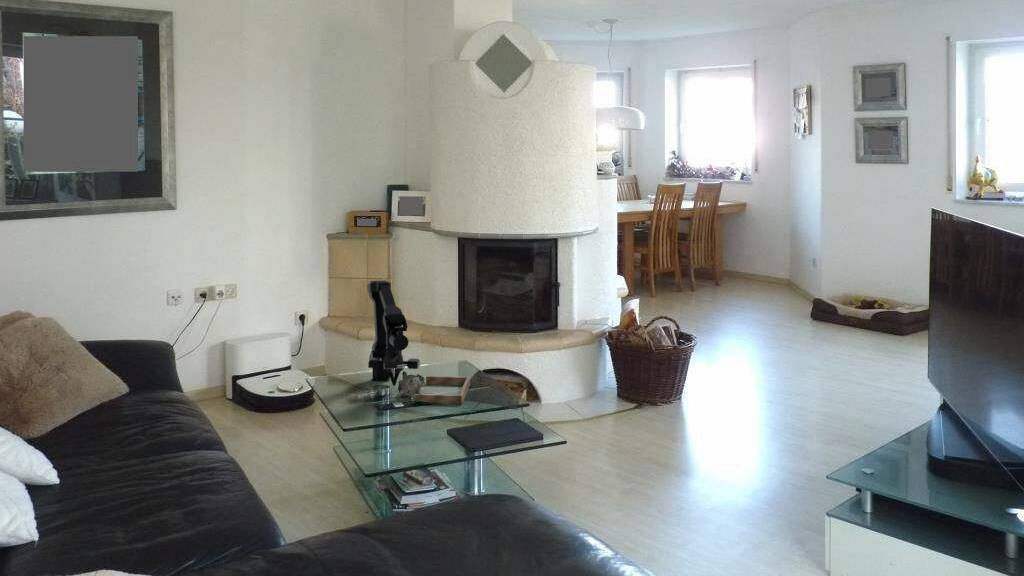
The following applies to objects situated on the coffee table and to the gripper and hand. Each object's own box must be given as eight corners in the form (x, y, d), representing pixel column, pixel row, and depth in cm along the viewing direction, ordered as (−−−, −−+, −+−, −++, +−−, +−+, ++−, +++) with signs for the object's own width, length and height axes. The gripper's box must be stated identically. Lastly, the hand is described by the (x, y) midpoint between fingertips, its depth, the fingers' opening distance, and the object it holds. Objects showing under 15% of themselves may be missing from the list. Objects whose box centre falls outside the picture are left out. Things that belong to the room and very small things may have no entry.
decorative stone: (419, 398, 340) (413, 372, 339) (396, 403, 341) (389, 377, 341) (430, 389, 355) (424, 364, 355) (408, 394, 357) (402, 368, 356)
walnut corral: (414, 402, 337) (414, 394, 336) (426, 383, 365) (426, 375, 364) (462, 404, 336) (462, 396, 335) (470, 384, 364) (470, 377, 363)
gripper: (364, 348, 341) (365, 390, 343) (415, 350, 340) (415, 391, 342) (371, 342, 352) (371, 382, 354) (420, 343, 351) (420, 384, 353)
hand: (394, 385), depth 351 cm, fingers closed
